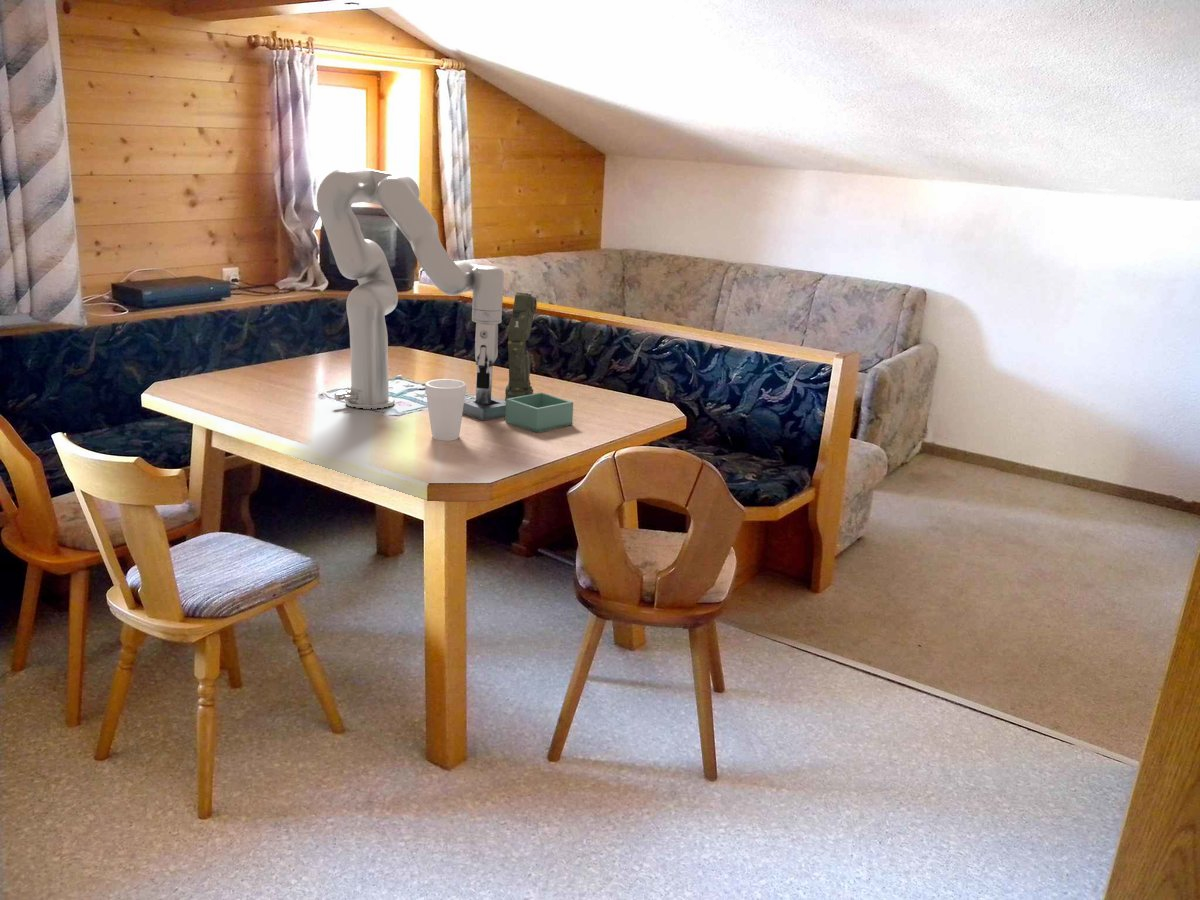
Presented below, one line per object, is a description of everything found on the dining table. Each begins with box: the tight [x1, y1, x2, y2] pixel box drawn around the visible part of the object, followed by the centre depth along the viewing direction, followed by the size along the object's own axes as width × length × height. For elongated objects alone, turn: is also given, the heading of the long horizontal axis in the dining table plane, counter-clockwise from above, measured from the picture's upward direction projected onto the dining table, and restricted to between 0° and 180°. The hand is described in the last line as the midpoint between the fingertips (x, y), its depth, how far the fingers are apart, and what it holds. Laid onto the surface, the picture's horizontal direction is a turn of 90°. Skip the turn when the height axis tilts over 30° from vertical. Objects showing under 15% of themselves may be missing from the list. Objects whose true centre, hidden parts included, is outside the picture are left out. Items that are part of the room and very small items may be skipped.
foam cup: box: [424, 378, 467, 442], centre depth 237 cm, size 10×9×13 cm
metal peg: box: [475, 356, 495, 404], centre depth 258 cm, size 5×5×12 cm
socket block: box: [462, 396, 506, 422], centre depth 260 cm, size 10×10×3 cm
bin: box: [504, 392, 574, 433], centre depth 253 cm, size 12×12×6 cm
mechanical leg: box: [504, 292, 538, 401], centre depth 275 cm, size 14×7×30 cm, turn 168°
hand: (483, 385), depth 259 cm, fingers closed on metal peg, 4 cm apart
